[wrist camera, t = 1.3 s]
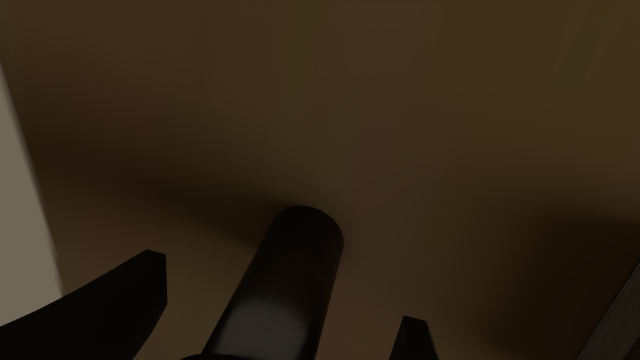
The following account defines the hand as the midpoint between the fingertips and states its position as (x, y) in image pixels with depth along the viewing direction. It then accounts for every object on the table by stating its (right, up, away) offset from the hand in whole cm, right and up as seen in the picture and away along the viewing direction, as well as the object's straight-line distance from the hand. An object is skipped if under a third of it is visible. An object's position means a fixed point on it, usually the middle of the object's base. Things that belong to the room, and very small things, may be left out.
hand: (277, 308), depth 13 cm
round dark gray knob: (+1, +2, +3) cm, 4 cm away
